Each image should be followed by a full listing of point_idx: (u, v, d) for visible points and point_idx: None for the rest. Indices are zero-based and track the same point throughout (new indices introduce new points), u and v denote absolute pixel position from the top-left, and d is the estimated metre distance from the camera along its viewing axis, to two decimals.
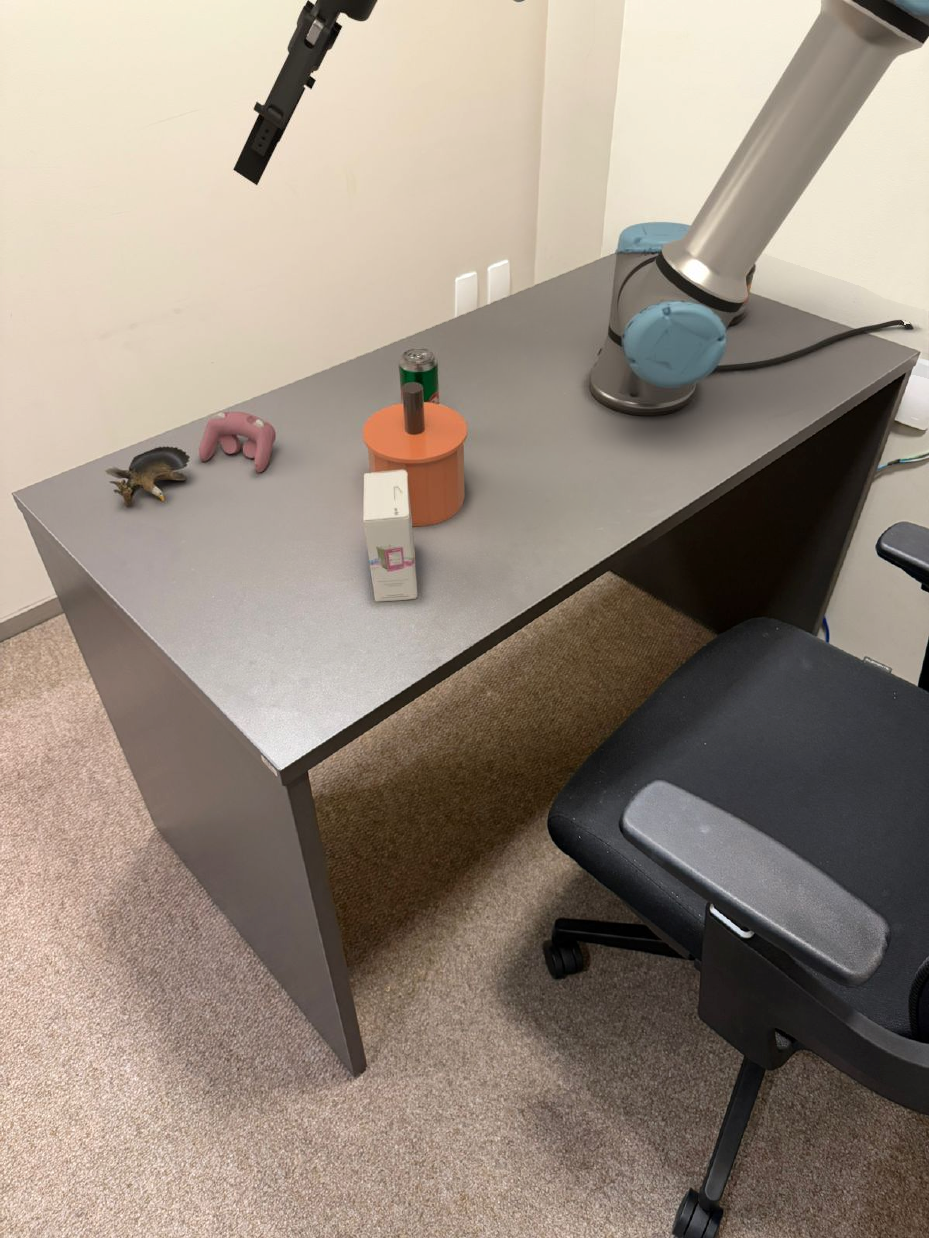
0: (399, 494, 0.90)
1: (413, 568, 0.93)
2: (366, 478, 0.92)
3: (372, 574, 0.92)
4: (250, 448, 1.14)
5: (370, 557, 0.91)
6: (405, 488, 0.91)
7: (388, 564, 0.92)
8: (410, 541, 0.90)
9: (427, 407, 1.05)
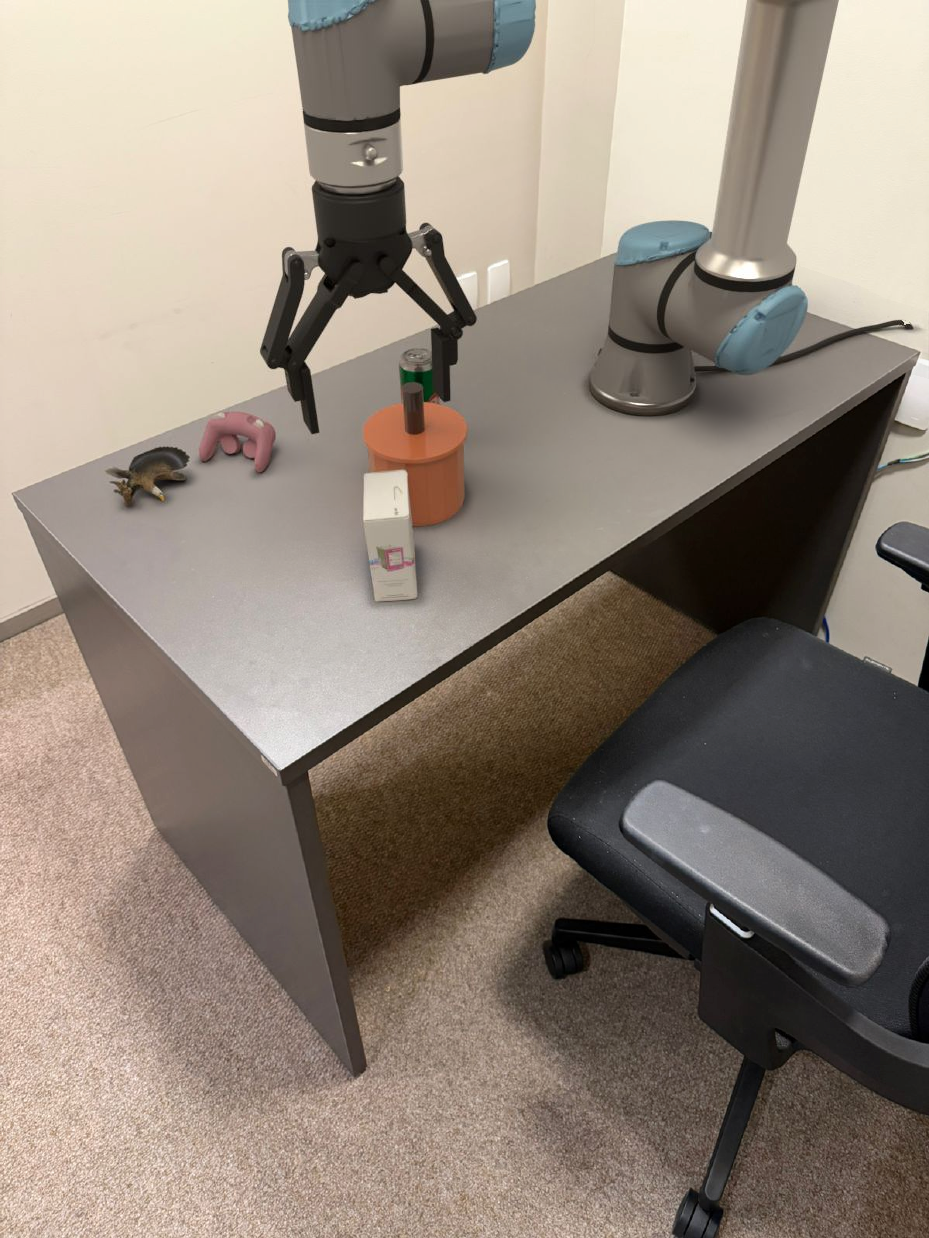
0: (399, 494, 0.90)
1: (413, 568, 0.93)
2: (366, 478, 0.92)
3: (372, 574, 0.92)
4: (250, 448, 1.14)
5: (370, 557, 0.91)
6: (405, 488, 0.91)
7: (388, 564, 0.92)
8: (410, 541, 0.90)
9: (427, 407, 1.05)
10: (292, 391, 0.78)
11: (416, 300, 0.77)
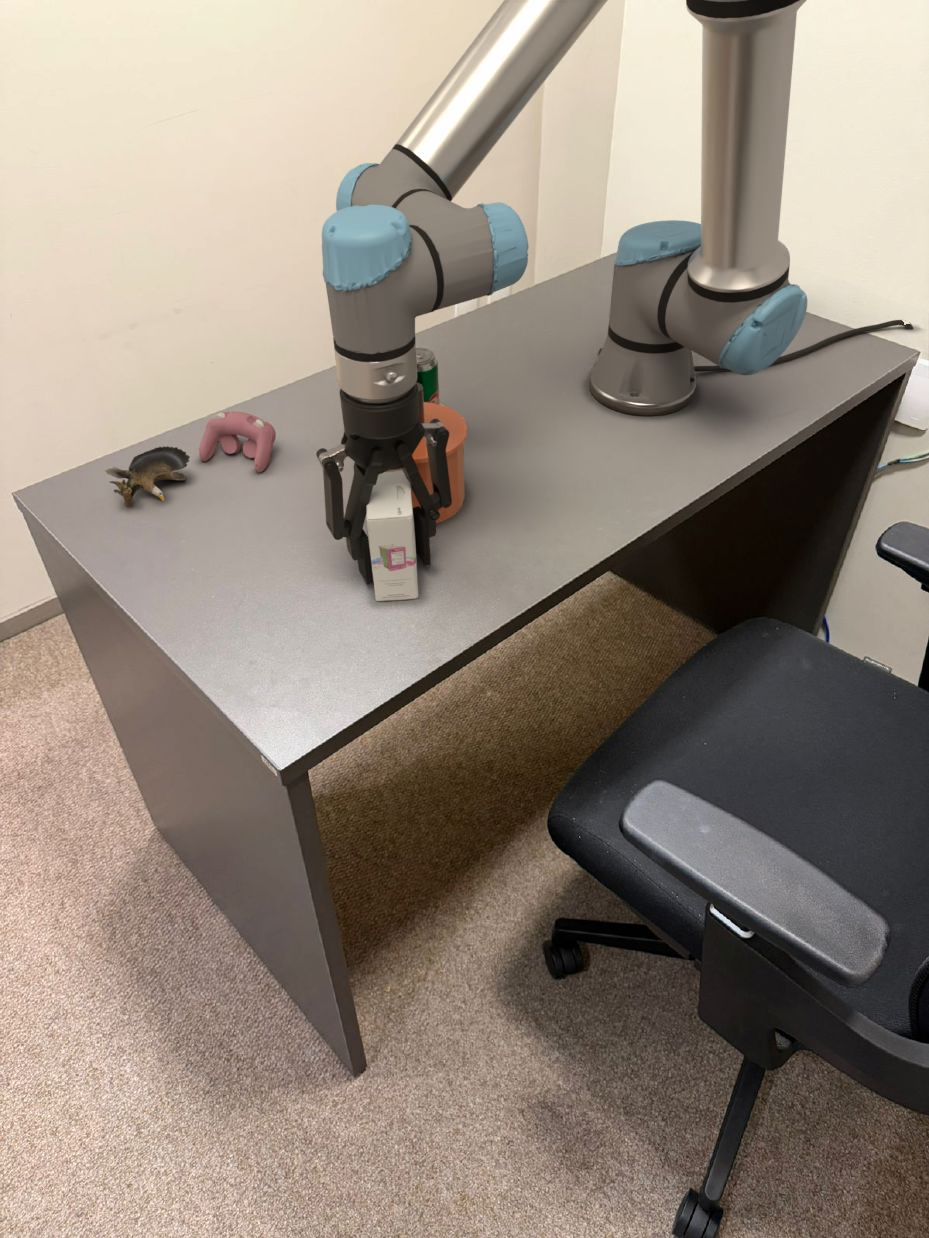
0: (402, 494, 0.90)
1: (415, 568, 0.93)
2: None
3: (374, 573, 0.92)
4: (250, 448, 1.14)
5: (372, 556, 0.91)
6: (408, 488, 0.91)
7: (390, 563, 0.91)
8: (413, 541, 0.90)
9: (427, 407, 1.05)
10: (352, 553, 0.93)
11: (413, 481, 0.90)
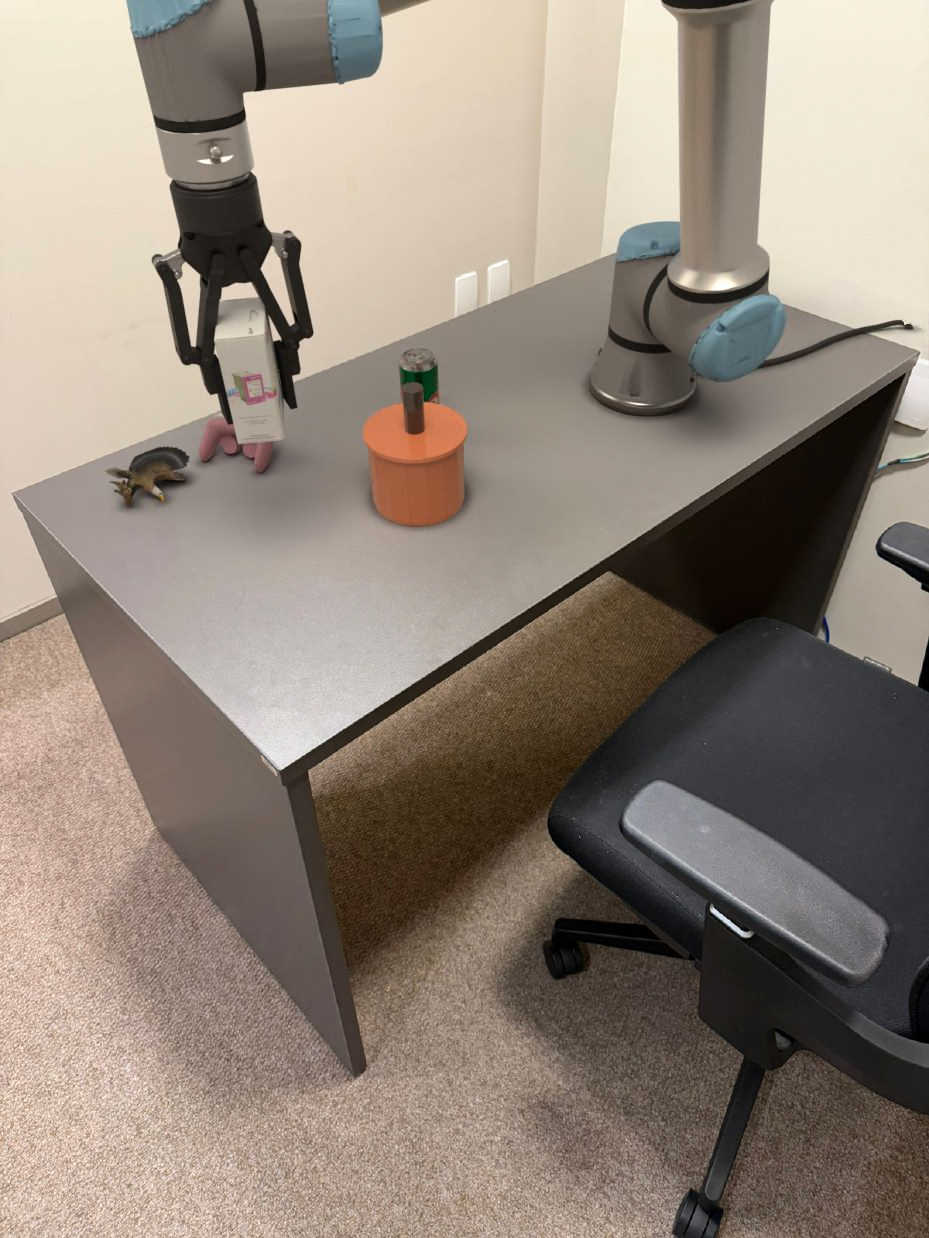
0: (255, 317, 0.83)
1: (276, 402, 0.86)
2: (220, 304, 0.85)
3: (231, 409, 0.85)
4: (250, 448, 1.14)
5: (226, 387, 0.83)
6: (262, 311, 0.83)
7: (247, 396, 0.84)
8: (269, 367, 0.83)
9: (427, 407, 1.05)
10: (207, 385, 0.86)
11: (264, 301, 0.82)
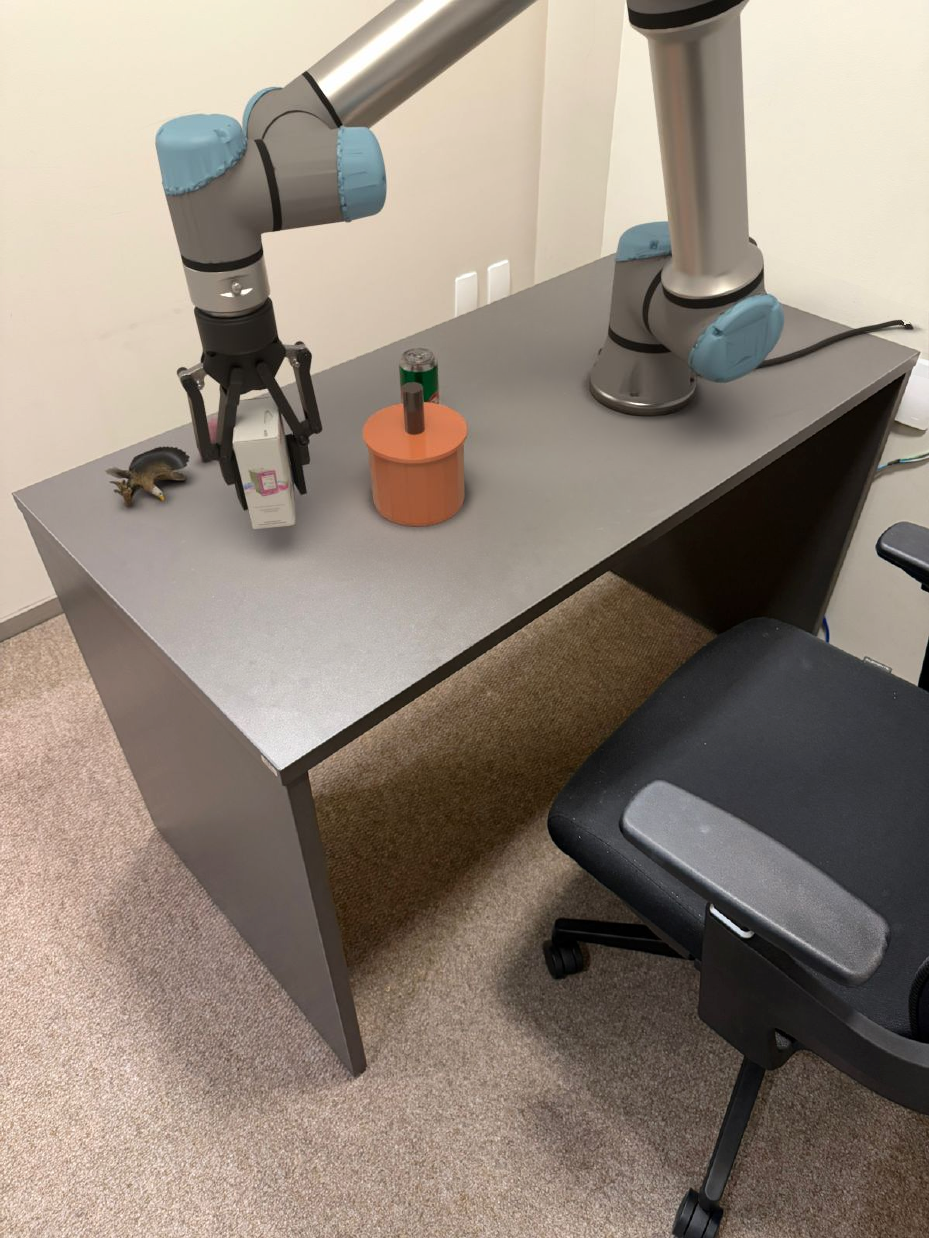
0: (270, 418, 0.91)
1: (288, 492, 0.94)
2: None
3: (247, 499, 0.93)
4: None
5: (243, 481, 0.92)
6: (275, 412, 0.92)
7: (262, 488, 0.93)
8: (282, 464, 0.91)
9: (427, 407, 1.05)
10: (225, 477, 0.94)
11: (278, 404, 0.91)
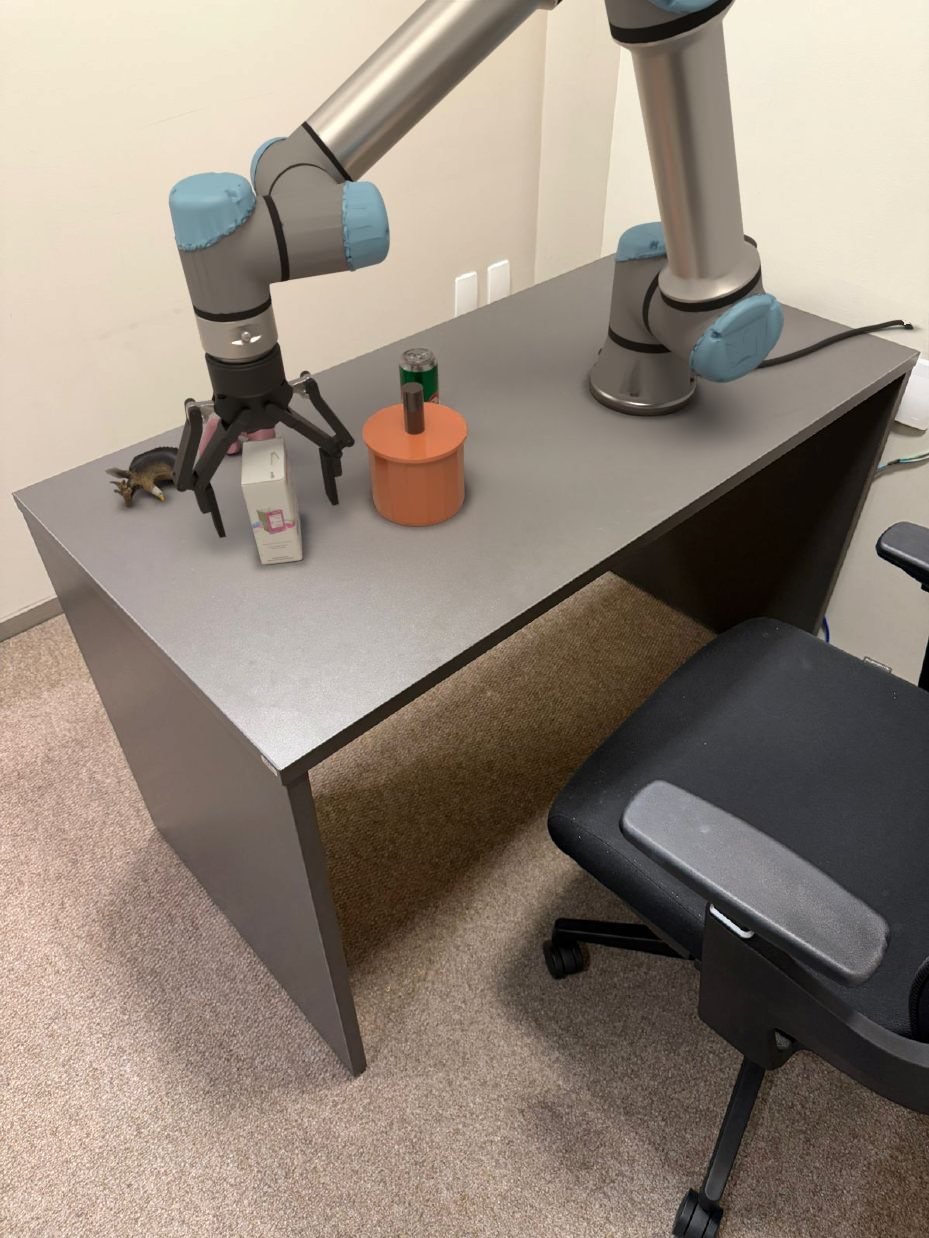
0: (276, 459, 0.95)
1: (295, 530, 0.97)
2: (245, 446, 0.97)
3: (256, 537, 0.97)
4: None
5: (252, 520, 0.95)
6: (281, 454, 0.95)
7: (269, 527, 0.96)
8: (288, 503, 0.95)
9: (427, 407, 1.05)
10: (200, 506, 0.95)
11: (300, 431, 0.94)
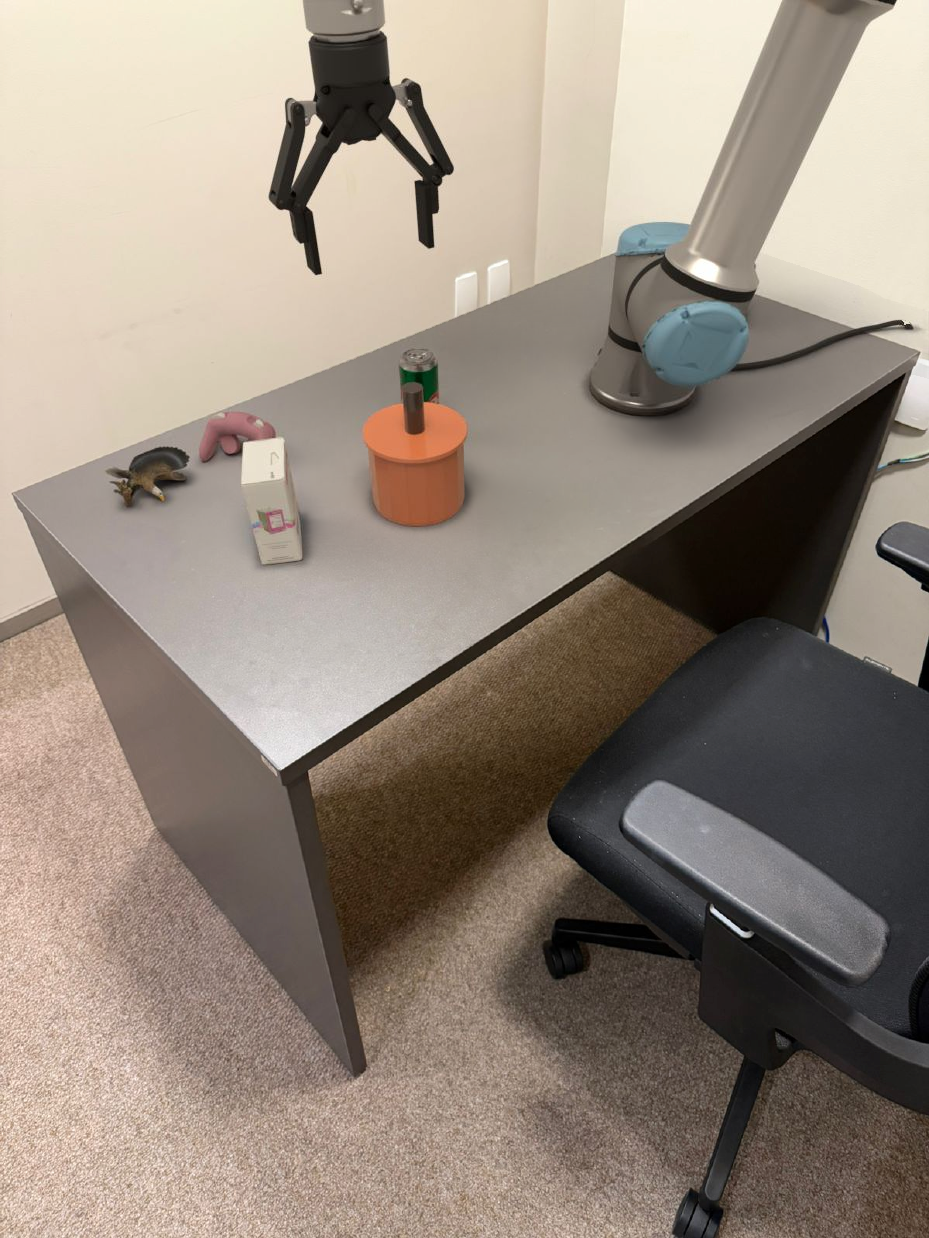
0: (276, 459, 0.95)
1: (295, 530, 0.97)
2: (245, 446, 0.97)
3: (256, 537, 0.97)
4: None
5: (252, 520, 0.95)
6: (281, 454, 0.95)
7: (269, 527, 0.96)
8: (288, 503, 0.95)
9: (427, 407, 1.05)
10: (297, 233, 0.91)
11: (401, 148, 0.90)
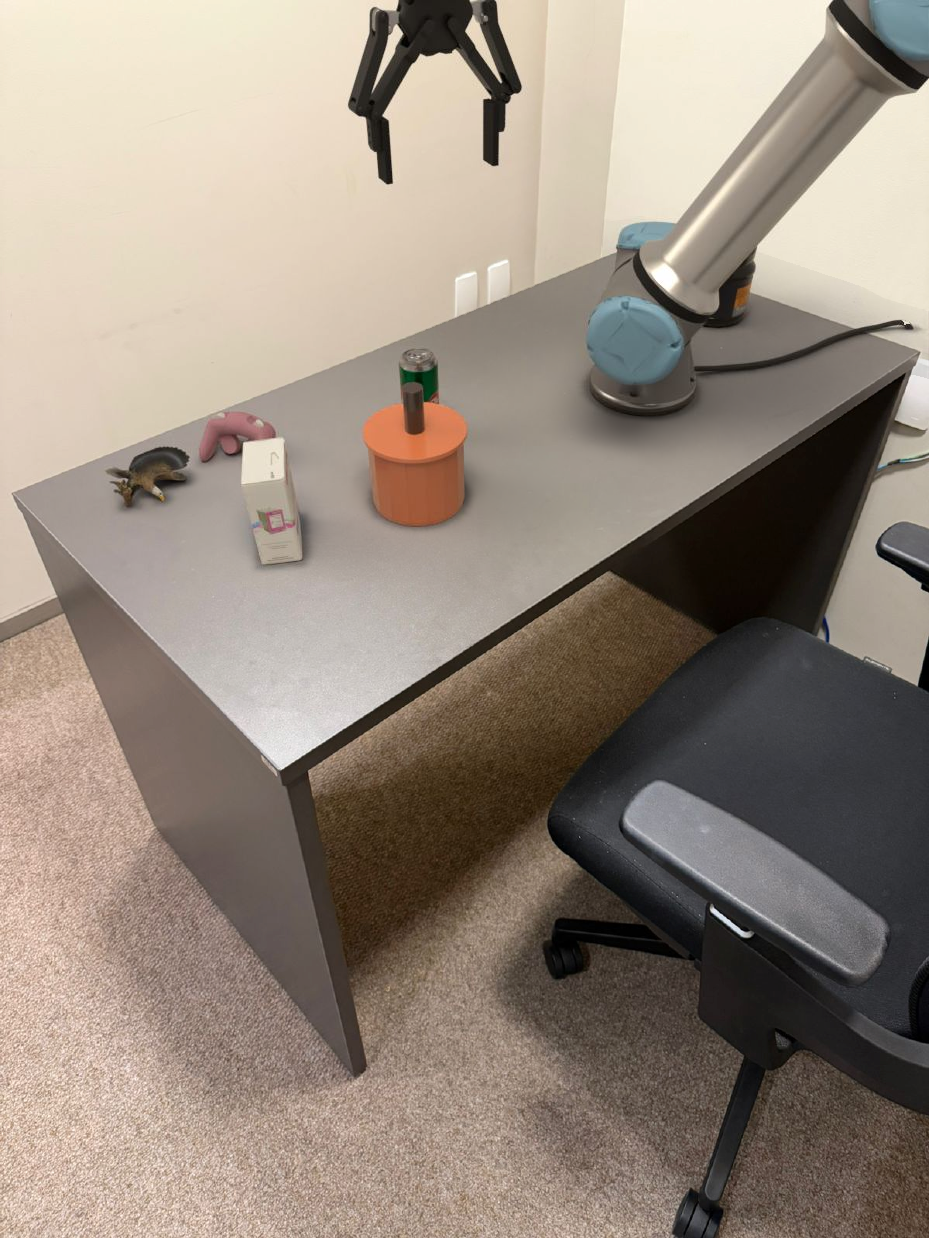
0: (276, 459, 0.95)
1: (295, 530, 0.97)
2: (245, 446, 0.97)
3: (256, 537, 0.97)
4: None
5: (252, 520, 0.95)
6: (281, 454, 0.95)
7: (269, 527, 0.96)
8: (288, 503, 0.95)
9: (427, 407, 1.05)
10: (373, 141, 0.96)
11: (474, 63, 0.94)
